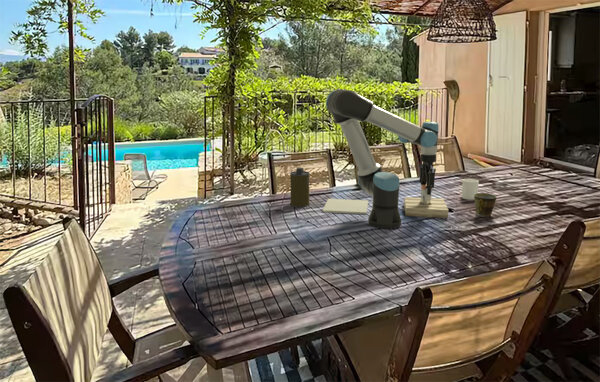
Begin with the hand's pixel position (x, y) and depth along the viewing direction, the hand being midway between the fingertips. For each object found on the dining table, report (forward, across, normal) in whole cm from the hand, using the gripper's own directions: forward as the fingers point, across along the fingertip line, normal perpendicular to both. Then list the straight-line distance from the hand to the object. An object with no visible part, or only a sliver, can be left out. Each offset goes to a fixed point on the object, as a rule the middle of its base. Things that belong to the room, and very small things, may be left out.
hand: (425, 199), depth 224 cm
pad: (+6, +13, +38) cm, 40 cm away
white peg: (+6, 0, 0) cm, 6 cm away
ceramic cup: (+6, -13, -24) cm, 28 cm away
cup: (+6, +21, -35) cm, 41 cm away
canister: (+7, +22, +61) cm, 65 cm away
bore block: (+6, 0, 0) cm, 6 cm away
